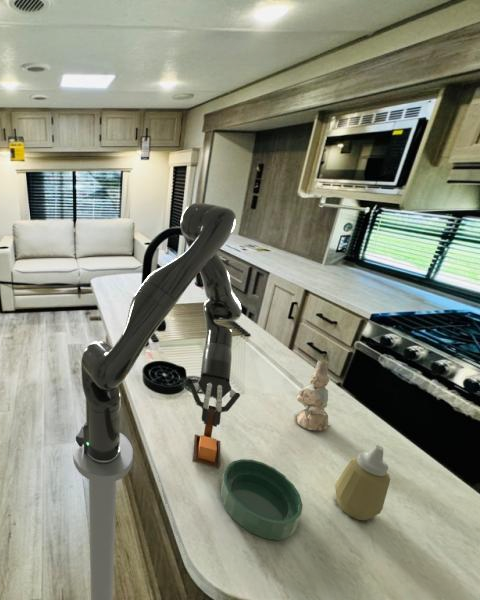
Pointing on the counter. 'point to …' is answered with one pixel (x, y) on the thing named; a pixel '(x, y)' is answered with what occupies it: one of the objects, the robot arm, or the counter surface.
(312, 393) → the figurine
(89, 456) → the robot arm
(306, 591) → the counter surface
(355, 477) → the squeeze bottle
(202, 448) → the block
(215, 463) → the scoop
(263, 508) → the green pet bowl
